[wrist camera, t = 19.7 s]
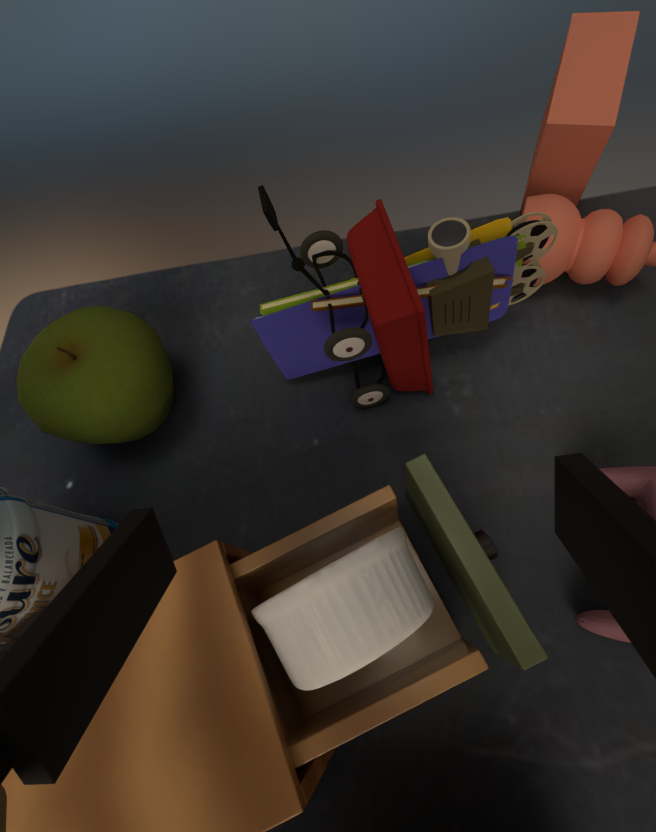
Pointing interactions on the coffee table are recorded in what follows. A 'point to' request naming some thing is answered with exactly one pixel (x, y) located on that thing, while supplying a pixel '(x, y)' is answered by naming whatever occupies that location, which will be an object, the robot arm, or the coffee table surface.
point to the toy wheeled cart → (399, 295)
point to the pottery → (586, 156)
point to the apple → (96, 377)
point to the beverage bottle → (40, 554)
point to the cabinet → (179, 728)
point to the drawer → (416, 655)
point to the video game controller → (652, 494)
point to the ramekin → (347, 612)
